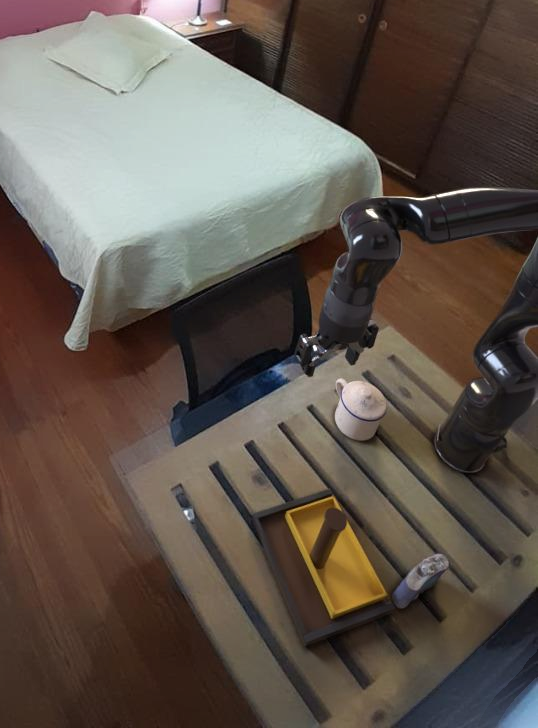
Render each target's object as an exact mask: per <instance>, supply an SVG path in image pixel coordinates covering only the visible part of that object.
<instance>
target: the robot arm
mask: <svg viewBox="0 0 538 728" xmlns="http://www.w3.org/2000/svg"><path fill="white" fill-rule="evenodd" d="M339 223H340V228H341V231H342V233H343V236H344V240H345V242H346V245H347V247H348V251H346V252H344V253H342V254H341V255H340V256H339V257H338V258H337V260H336V262H335V265H334V267H333V270H332V274H331V278H330V281H329V284H328V286H327V288H326V290H325V294H324V297H323V301H322V305H321V309H320V312H319V317H318V330H317V331H316V332H315V333H314V335H311V336H308V335H307V333H302V334H300V335H299V338H298V340H297V344H296V347H295V350H294V353H293V355H294V357H295V359H296V360H297V362H298V363H299V365H300V368H301V370H302V371H303V373H304V374H305V376H307V377H308V378H312V377H314V374H315V370H316V368H317V367H316V366H317V364H318V363H319V362H320V361H321V360H323V361H324V360H326V359H328V358H329V357H330V356H332V354H333V353H335V352H337V351H343V350H346V351H345V354H344V358H345V360H346V361H347V363H348V364H349V365H350V366H351V367H352V366H355V365H356V364H357V361H358V360H359V358H360V355H361V354H362V353H363V352H365V349H372V348H374V347H375V342H376V340H377V336H378V333H379V329H380V328H379V326H378V325H377V323H376V322H375V321H374V319H373V318H372V315H373V313H374V310H375V306H376V300H377V296H378V293H379V290H380V288H381V284H382V281H384V279H386V277H388V275H389V274H390V273H391V271H392V270H393V269H394V268H395V267H396V265H397V264H398V262H400V259H401V256H402V253H403V240H402V236H401V234H400V232H404V233H410V234H412V235H413V236H414V237H416V238H417V239H418V240H419V241H420V242H421V243H422V244H424V245H427V246H437V245H442V244H447V243H453V242H459V241H464V240H469V239H474V238H478V237H484V236H490V235H496V234H504V233H511V232H512V233H513V232H522V231H538V189H537V190H536V189H523V188H514V187H504V186H493V185H492V186H491V185H478V186H477V185H475V186H466V187H460V188H455V189H451V190H446V191H442V192H437V193H433V194H428V195H425V196H407V195H403V196H399V195H397V196H392V195H391V196H369V197H365V198H361V199H358V200H355V201H353V202H351V203H350V204H349V205H347V206H346V207H345V208H344V209H343V210H342V212H341V213H340V216H339ZM537 327H538V237H537V238H536V239H535V242H534V244H533V246H532V248H531V251H530V252H529V254H528V255H527V257H526V259H524V262H523V264H522V265H521V268H520V270H519V272H518V273H517V276H516V277H515V280H514V282H513V285H512V286H511V289H510V291H509V292H508V295H506V298H505V299H504V302H503V304H502V305H501V306H500V308H499V310H498V311H497V313H496V315H495V317H494V318H493V319H492V321H491V322H490V324H489V325H488V326H487V328H486V329H485V330H484V332H483V333H482V335H481V336H480V337H479V339H478V340H477V342H476V343H475V345H474V347H473V349H472V351H471V361H472V363H473V365H474V367H475V368H476V370H477V371H478V372H479V374H480V375H481V376H480V377H474V378H472V379H470V380H469V381H468V382H467V383H466V384H465V386H464V387H463V389H462V390H461V392H460V393H459V395H458V398H457V399H456V401H455V403H454V404H453V405H452V408H451V410H450V411H449V413H448V414H447V417H446V418H445V420H444V422H443V423H442V425H441V424H438V428H437V432H436V434H435V435H434V438H433V446H434V449H435V452H436V453H437V456H438V457H439V458H440V459H441V460H442V462H444V464H446V465H447V466H448V467H450V468H451V469H452V470H454V471H456V472H459V473H463V474H476V473H479V472H480V471H481V470H482V469H483V468H484V466H485V464H486V462H487V461H488V460H489V458H490V457H491V456H492V454H494V453H495V454H496V453H498V452H501V451H503V450H504V449H507V447H508V441H507V438H506V437H505V436H506V435H507V434H508V433H509V431H510V430H511V428H512V427H513V426H514V424H515V423H516V421H517V420H519V419H520V418H521V417H522V416H524V415H525V414H526V413H527V412H528V411H529V410H530V408H532V407H533V405H534V404H535V403H536V402H537V401H538V356H537V355H536V354H535V353H534V352H533V351H532V350H531V348H530V347H529V346H528V345H527V344H526V340H525V338H526V335H527V333H528V332H529V331H530V329H532V328H537ZM321 348H322V349H323V350H324V351H323V350H322V349H321ZM313 353H314V354H315V356H314V357H313V355H312V354H313Z"/></svg>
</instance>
